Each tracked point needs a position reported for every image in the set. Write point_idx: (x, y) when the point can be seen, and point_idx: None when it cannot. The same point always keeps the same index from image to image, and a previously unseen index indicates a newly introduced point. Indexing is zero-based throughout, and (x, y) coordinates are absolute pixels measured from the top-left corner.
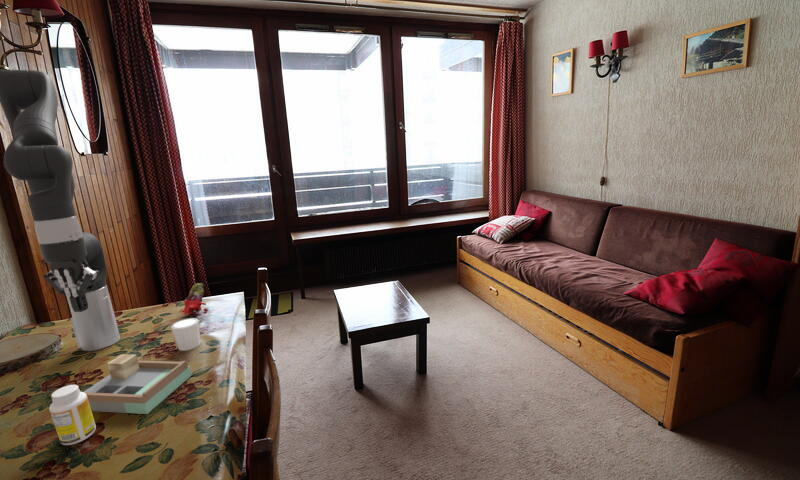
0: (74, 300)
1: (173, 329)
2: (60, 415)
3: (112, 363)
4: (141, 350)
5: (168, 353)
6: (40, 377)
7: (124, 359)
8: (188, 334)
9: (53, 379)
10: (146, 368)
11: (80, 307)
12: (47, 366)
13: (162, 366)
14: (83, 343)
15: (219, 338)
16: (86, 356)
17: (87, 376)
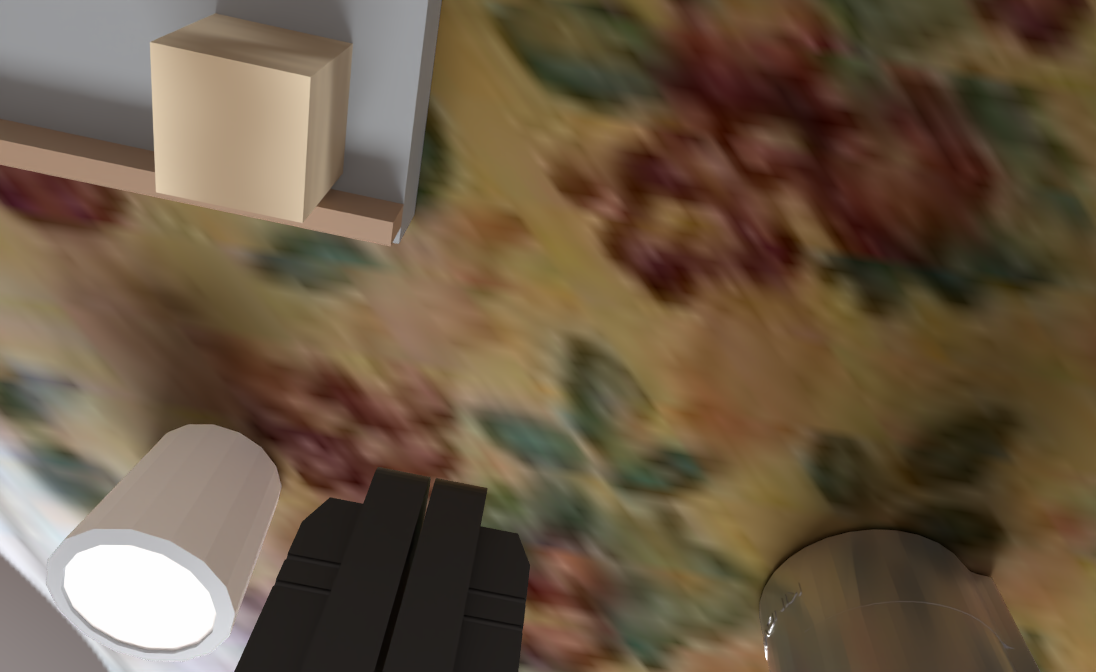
0: (356, 642)
1: (171, 536)
2: None
3: (253, 64)
4: (518, 477)
5: (294, 409)
6: (1061, 267)
7: (196, 122)
8: (105, 500)
9: (940, 224)
10: None
11: (343, 527)
12: (1092, 400)
13: (17, 129)
14: (935, 576)
15: (75, 520)
16: (873, 474)
17: (696, 220)
